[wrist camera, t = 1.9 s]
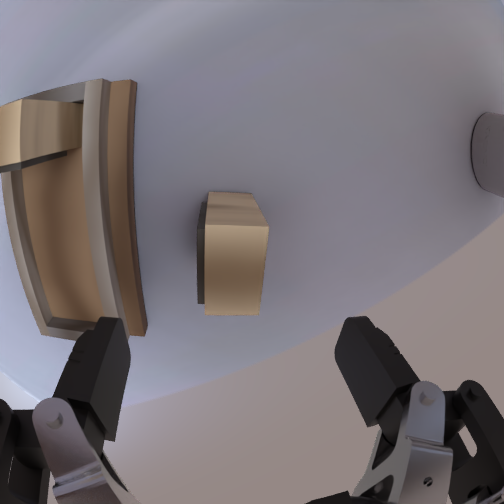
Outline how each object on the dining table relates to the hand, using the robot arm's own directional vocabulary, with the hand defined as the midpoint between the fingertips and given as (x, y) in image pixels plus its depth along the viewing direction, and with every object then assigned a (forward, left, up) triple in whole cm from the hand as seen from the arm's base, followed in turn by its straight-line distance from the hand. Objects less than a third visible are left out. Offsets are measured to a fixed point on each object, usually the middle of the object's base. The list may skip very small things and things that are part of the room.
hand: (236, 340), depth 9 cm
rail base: (+13, 0, -12) cm, 17 cm away
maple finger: (0, 0, -12) cm, 12 cm away
